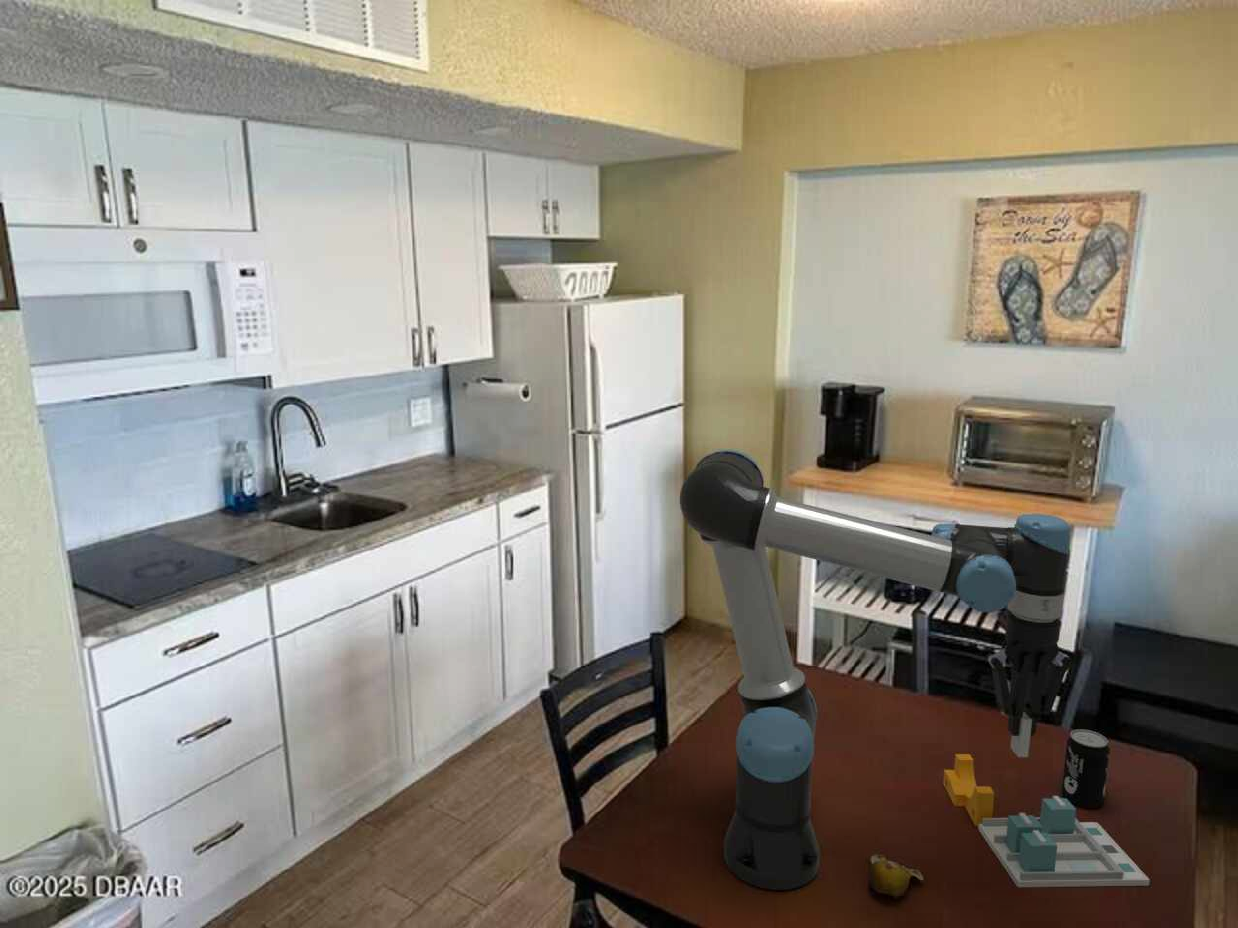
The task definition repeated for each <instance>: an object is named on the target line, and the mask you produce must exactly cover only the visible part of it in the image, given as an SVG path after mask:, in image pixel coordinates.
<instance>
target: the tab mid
mask: <svg viewBox="0 0 1238 928" xmlns="http://www.w3.org/2000/svg"><path fill="white" fill-rule="evenodd" d="M1007 818H1008V824H1007V835H1006V844H1007V846H1008V847H1009V849H1010V850H1011V851H1012V853H1020V843H1021V833H1033V830H1038V831H1039V832H1040V833H1042V829H1043V827H1042V826H1041V824H1040V823H1039V822H1038V821H1037V819H1036V818H1035V816H1034V815H1031V814H1030V815H1029V814H1028V815H1027V814H1026V813H1025V812H1019V813H1018V815H1008V816H1007Z"/></svg>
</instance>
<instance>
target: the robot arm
mask: <svg viewBox="0 0 1238 928" xmlns="http://www.w3.org/2000/svg"><path fill="white" fill-rule="evenodd" d="M764 484H765V483H764V475H763V472H762V471H761V468H760V467H759V465H758V463H757V462H756V460H755V459H753V458H752V457H751V456H750V455H748V454H747V453H745V452H742V451H739V450H735V449H721V450H717V451H713V452H712V453H709V454H707V455H706V456H703V458H701V460H700V461H699V462H698V463H697V464H696V466H695V468H694V470H692V471H691V472H690V473H689V474H688V475H687V477H686V478H685V480H684V482H683V483H682V486H681V488H680V492H679V505H680V507H679V508H680V511H681V513H682V516H683V518H684V520H685V522H686V523H688V525H689V526H690V527H691V528H692V529H693V530H694V531H696V532H697V533H698V534H699V535H700V539H701V541H702V542H704V543H705V544H706V545H709V546H711V547H712V550H713V553H714V557H715V561H716V566H717V569H718V575H719V579H720V583H721V587H722V591H723V595H724V599H725V603H726V606H727V608H726V609H727V612H728V616H729V619H730V625H731V628H732V632H733V637H734V641H735V643H736V644H735V645H736V649H737V653H738V657H739V662H740V664H741V669H742V674H743V678H742V679H741V680H740V682H738V686H737V691H738V694H739V697H740V698H739V699H740V703H741V707H742V711H743V716H744V718H743V719H742V720H741V721H740V723H739V726H738V730H737V733H736V738H735V749H736V780H735V781H736V783H735V784H736V786H735V811H734V813H733V815H732V819H731V820H730V823H729V825H728V828H727V831H726V832H725V833H726V834H725V837H724V840H723V857H724V861H725V863H726V866H727V867H728V868H729V870H730V872H731V873H733V874H734V875H735V876H736V877H737V878H739V879H740V880H741V881H744V883H747V884H750V885H752V886H755V887H757V888H761V889H765V890H766V889H767V890H774V891H785V890H787V891H788V890H792V889H796V888H800V887H802V886H804V885H806V884H808V883H810V881H812V880H813V879H815V877H816V875H817V874H818V873H819V867H820V855H821V854H820V847H819V843H818V840H817V836H816V834H815V830H814V827H813V824H812V821H811V799H812V797H811V796H812V776H813V775H812V772H813V761H814V760H813V759H814V752H815V738H816V737H815V736H816V727H817V723H818V721H817V720H818V710H817V709H818V708H817V704H816V702H815V698H814V696H813V694H812V693H811V691H810V689H809V688H808V683H807V681H806V680H807V679H806V677H805V676H806V675H805V673H804V672H803V671H802V670H800V669H799V668H797V667H795V666H794V664H793V660H792V655H791V649H790V646H789V641H788V638H787V633H786V630H785V624H784V621H783V616H782V611H781V608H780V607H781V606H780V604H779V599H778V596H777V595H778V594H777V591H776V586H775V583H774V582H775V581H774V577H773V575H772V574H773V573H772V569H771V566H770V561H769V557H768V553H767V552H768V551H767V549H766V548H769V549H773V550H777V551H780V552H784V553H785V552H786V553H789V554H793V555H797V556H801V557H805V558H808V559H812V560H816V561H819V562H824V563H827V564H832V565H835V566H839V567H843V568H846V569H847V568H848V569H851V570H855V571H858V572H861V573H867V574H868V575H869V574H870V575H874V576H878V577H881V578H886V579H889V580H894V581H897V582H901V583H905V584H909V585H913V586H917V587H920V588H925V589H927V590H932V591H935V592H938V593H939V592H940V593H943V594H947V595H951V596H954V597H958V598H960V600H961V601H962V602H963V603H965V605H967V606H968V607H969V608H971V609H973V610H974V611H978V612H982V613H993V612H997V611H1000V610H1002V609H1004V608H1005V607H1007V609H1008V610H1009V611H1008V612H1006V613H1007V614H1006V620H1005V631H1004V632H1005V633H1004V634H1005V639H1004V642H1003V643H1002V644H1001V650H999V651H998V652H996V653H994V654H993V652H992V653H991V652H988V653H987V654H986V655H985V659H986V661H987V662H988V664H989V665H990V667H991V674H992V679H993V685H994V693H995V699H996V705H997V707H998V708H999V709H1000V710H1001V712H1003V713H1004V715H1006V716H1008V722H1007V723H1008V724H1007V731H1008V732H1009V733H1010V735H1011V740H1010V749H1011V751H1013V753H1014V754H1015V755H1016V756H1017V757H1018V758H1029V750H1030V749H1029V748H1030V741H1031V737H1032V736H1035V734H1036V731H1037V722H1040V721H1041V720H1042V716H1041V715H1045V716H1046V715H1050V714H1051V712H1052V710H1053V706H1054V704H1055V702H1056V699H1057V696H1058V695H1059V694H1058V693H1059V690H1060V688H1061V686H1062V682H1063V680H1064V677H1065V675H1066V673H1067V671H1069V669H1070V667H1071V666H1072V665H1073V664H1074V661H1073V659H1072V658H1071V657H1070V656H1068V655H1067V654H1065V652H1062V651H1060V648H1059V645H1058V642H1059V641H1060V633H1061V626H1062V625H1061V624H1062V620H1061V617H1062V611H1063V605H1064V597H1065V584H1066V578H1067V571H1068V570H1067V569H1068V565H1069V564H1068V563H1069V556H1070V553H1071V549H1070V546H1071V545H1070V544H1071V527H1070V524H1069V522H1067V521H1066V520H1065V519H1063V518H1062V517H1058V516H1056V515H1055V516H1054V515H1049V514H1046V513H1045V514H1044V513H1032V514H1031V513H1024V514H1021V515H1019V516H1018V517H1017V518H1016V522H1015V524H1014V527H1011V526H1010V527H1009V526H1008V527H1001V526H989V525H987V526H986V525H973V524H961V523H958V522H955V523H937V524H935V525H934V526H933V528H932V530H931V535H930V534H928V533H923V532H918V531H915V530H910V529H907V528H902V527H898V526H895V525H891V524H886V523H883V522H879V521H874V520H872V519H871V520H870V519H866V518H861V517H859V516H854V515H849V514H847V513H842V512H839V511H835V510H829V509H827V508H822V507H818V506H815V505H809V504H806V503H801V502H798V501H794V500H789V499H787V498H781V497H778V496H777V494H776V493H775V491H774V489H773V488H770V487H765V485H764ZM1006 659H1007V661H1008V662H1009V664H1010V672H1011V679H1010V686H1009V683H1008V677H1007V672H1006V668H1005V667H1006V666H1007V662H1006ZM1047 667H1048V669H1047Z"/></svg>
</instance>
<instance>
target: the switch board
mask: <svg viewBox="0 0 1238 928" xmlns="http://www.w3.org/2000/svg"><path fill="white" fill-rule="evenodd" d="M1034 817H1035V816H1034ZM1035 818H1036V819H1037V821H1038V822H1039V823H1040V816H1038V817H1035ZM1007 824H1008V817H992V818H983V819H982V824H978V826H977V830H978V831H979V832H980V834H981V836H982V837H983V838H984V840H985V842H986V843H987V844H988V846H989V847H990V849H991V851H992V852H993V853H994V855H995V856H996V857H997V859H998V860H999V862H1000V863H1001V865H1002V867H1003V868H1004V869H1005V871H1006V872H1007V874H1008V875H1009V877H1010V878H1011V879H1012V881H1013V883H1014V884H1015V886H1016V887H1017V888H1063V887H1064V888H1065V887H1067V888H1068V887H1069V888H1071V887H1073V888H1074V887H1077V888H1078V887H1079V888H1080V887H1139V886H1140V887H1141V886H1143V887H1145V886H1146V887H1147V886H1148V887H1149V886H1150V880H1151V879H1150V878H1149V877H1148V876H1147V875H1146V874H1145V873H1144V872H1143V871H1142V870H1141V869H1140V867H1138V865H1137V864H1136V863H1135V862H1134V861H1133V860H1132V859H1131V858H1130V856H1129V855H1128V854H1127V853H1126V852H1125V851H1124V850H1123V848H1121V847H1120V845H1119V844H1118V843H1116V841H1115V840H1114V838H1112V837H1111V835H1109V834H1108V833H1107V831H1106V830H1105V829H1104V828H1103V827H1102V825H1100V824H1099V823H1098V822H1096V821H1095V822H1094V821H1089V822H1088V821H1086V822H1081V821H1079V820H1078V819H1077V817H1075V824H1074V833H1073V834H1049V836H1050V837H1051V838H1052V839H1053V841H1054V842H1055V843H1056V844H1057V853H1056V862H1055V871H1048V872H1026V871H1025V870H1024V868H1023V867H1022V865H1021V864H1020V863H1019V853H1012V851H1011V850H1010V849H1009V847H1008V846H1007V844H1006V835H1007ZM1042 833H1045V832H1044V831H1043V829H1042Z"/></svg>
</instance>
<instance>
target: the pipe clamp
mask: <svg viewBox="0 0 1238 928" xmlns="http://www.w3.org/2000/svg"><path fill="white" fill-rule="evenodd" d="M974 762H975V761H974V758H973V757H972V755H971V754H969V753H968V754H967V753H955V755H954V766H953V768H954V769H944V771H943V783H942V785H943V786H944V788H945V790H946V792H947V794H948V796H949V798H950V800H951V802H952V804H953V806H954V807H964V808H965V810H966V811H967V813H968V815H969V817H970V819H971V821H972V822H973V824H974V826H975V827H978V824H982V819H983V818H993V815H994V814H993V813H994V803H995V802H994V800H995V792H994V790H993V788H992V787H991V786H984V785H983V786H980V785H979V786H977V783H976V777H975V769H974Z"/></svg>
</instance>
